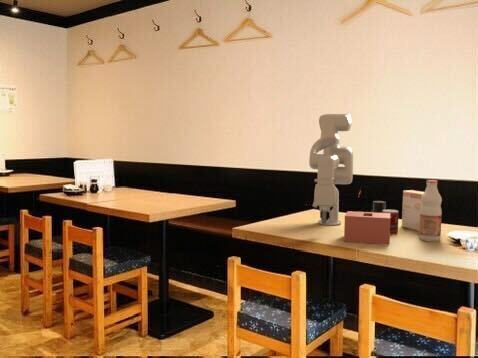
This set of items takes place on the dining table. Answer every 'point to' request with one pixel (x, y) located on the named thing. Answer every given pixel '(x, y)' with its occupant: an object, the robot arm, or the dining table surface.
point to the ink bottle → (378, 206)
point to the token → (324, 217)
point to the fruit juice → (430, 213)
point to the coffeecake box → (411, 209)
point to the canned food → (393, 220)
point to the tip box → (367, 227)
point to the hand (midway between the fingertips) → (324, 219)
